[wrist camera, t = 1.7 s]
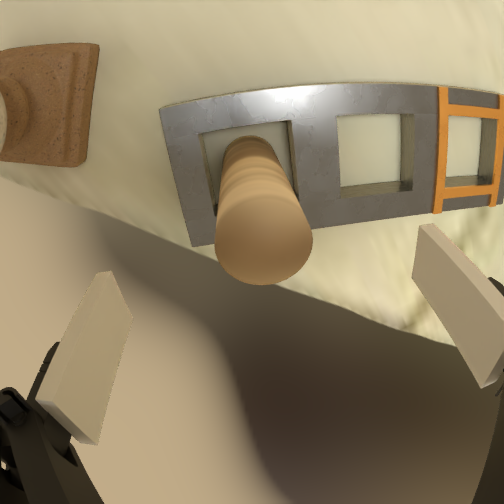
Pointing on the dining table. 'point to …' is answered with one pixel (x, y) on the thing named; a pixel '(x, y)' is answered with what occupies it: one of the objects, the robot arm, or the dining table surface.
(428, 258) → the robot arm
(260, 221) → the peg
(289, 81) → the dining table surface
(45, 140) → the candle holder
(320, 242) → the dining table surface
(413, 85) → the grey peg board
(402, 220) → the dining table surface
